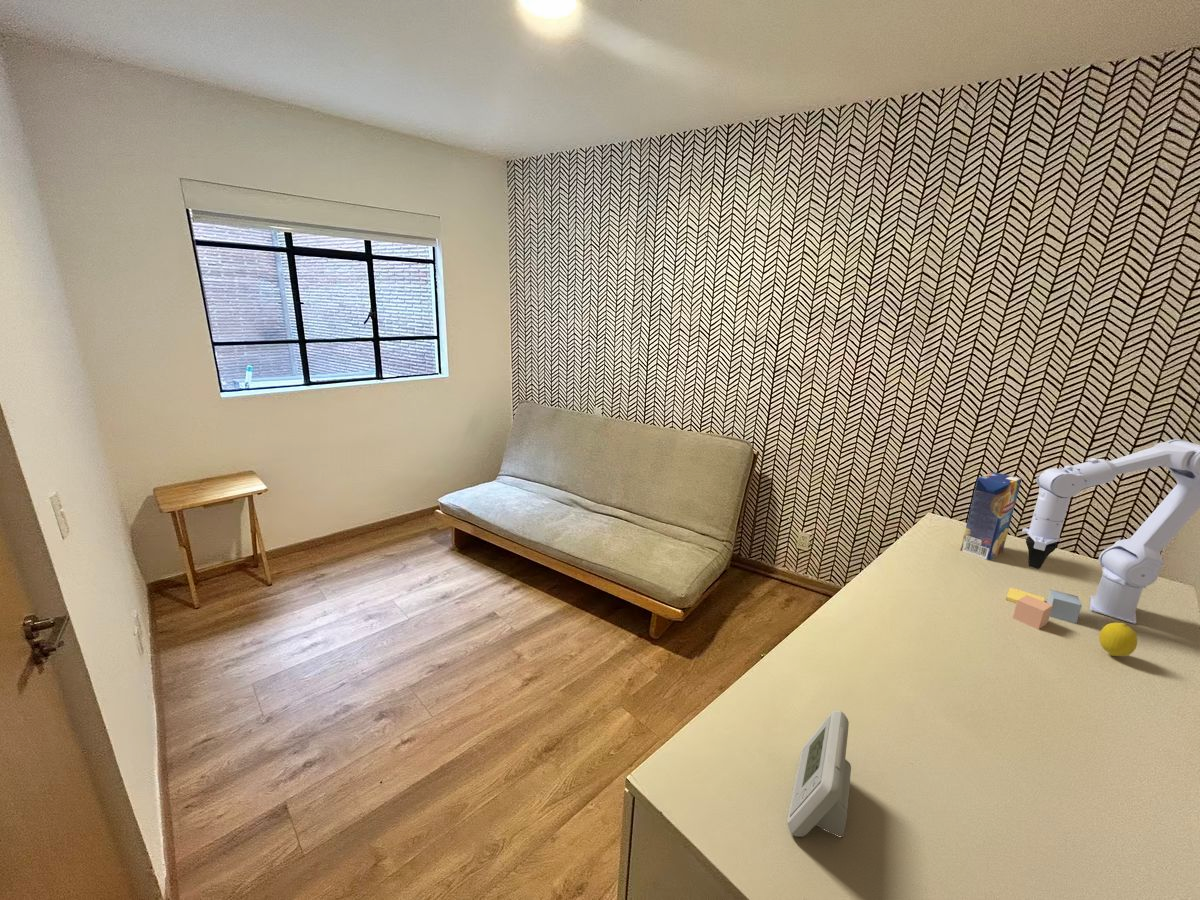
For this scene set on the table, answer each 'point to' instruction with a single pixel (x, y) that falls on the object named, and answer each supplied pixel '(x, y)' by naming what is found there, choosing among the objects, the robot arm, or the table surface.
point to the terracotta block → (1032, 611)
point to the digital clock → (822, 780)
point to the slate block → (1064, 606)
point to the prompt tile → (1020, 595)
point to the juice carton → (990, 515)
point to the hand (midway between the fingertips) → (1034, 567)
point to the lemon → (1118, 639)
